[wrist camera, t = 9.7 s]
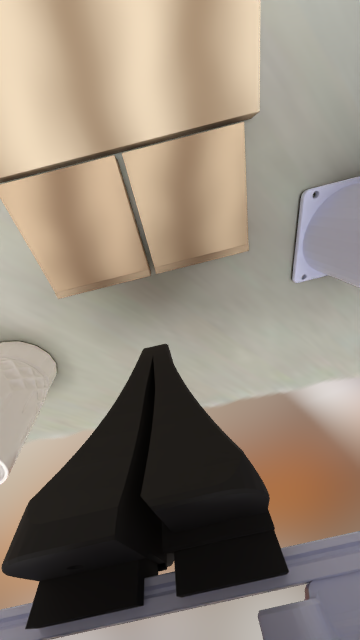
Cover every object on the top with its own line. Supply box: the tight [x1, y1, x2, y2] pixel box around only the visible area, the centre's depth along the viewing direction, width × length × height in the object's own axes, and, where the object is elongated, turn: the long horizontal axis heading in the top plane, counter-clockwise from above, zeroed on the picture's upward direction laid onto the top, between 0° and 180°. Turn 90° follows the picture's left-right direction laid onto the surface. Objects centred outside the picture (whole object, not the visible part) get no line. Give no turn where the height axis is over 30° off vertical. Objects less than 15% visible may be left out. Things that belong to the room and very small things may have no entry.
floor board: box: [0, 0, 260, 183], centre depth 10 cm, size 18×8×1 cm, turn 102°
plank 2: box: [122, 122, 249, 274], centre depth 15 cm, size 8×8×1 cm
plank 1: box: [0, 155, 151, 299], centre depth 15 cm, size 8×8×1 cm
